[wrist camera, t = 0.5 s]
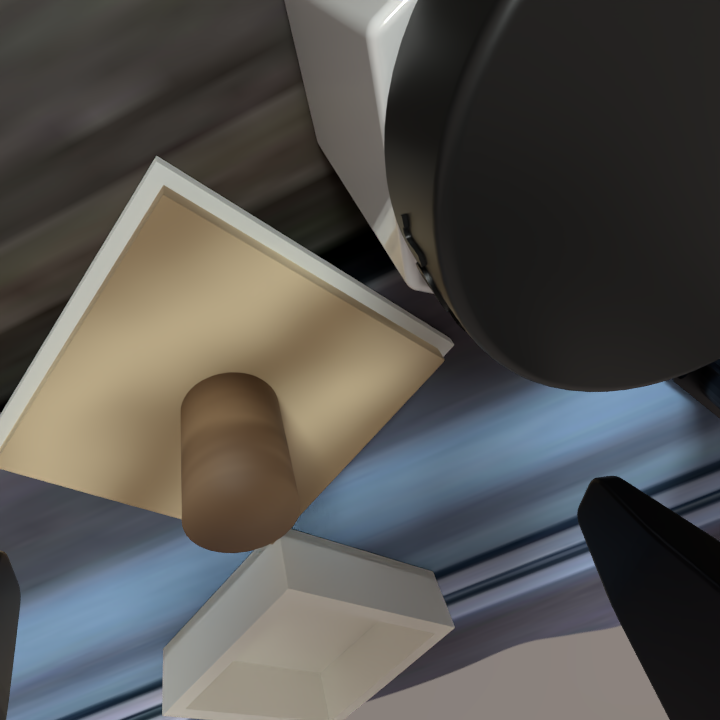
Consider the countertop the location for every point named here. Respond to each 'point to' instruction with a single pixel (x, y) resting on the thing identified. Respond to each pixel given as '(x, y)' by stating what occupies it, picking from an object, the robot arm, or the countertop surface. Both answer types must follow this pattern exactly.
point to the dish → (302, 634)
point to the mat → (229, 213)
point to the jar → (536, 170)
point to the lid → (214, 383)
